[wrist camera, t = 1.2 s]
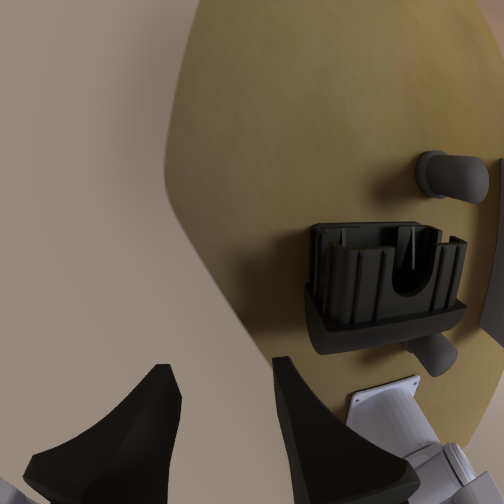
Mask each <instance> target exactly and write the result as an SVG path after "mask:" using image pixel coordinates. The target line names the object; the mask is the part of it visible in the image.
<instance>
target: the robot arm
mask: <svg viewBox="0 0 504 504" xmlns="http://www.w3.org/2000/svg"><path fill="white" fill-rule="evenodd" d="M272 364H273V376H274V391H275V398H276V408H277V415H278V418H279V423H280V427H281V431H282V435H283V439H284V443H285V447H286V451H287V455H288V460H289V465H290V472H291V480H292V488H293V495H294V503H295V504H504V498H503V496H502V494H501V492H500V490H499V489H498V487H497V485H496V483H495V481H494V480H493V478H492V476H491V474H490V473H489V471H485V472H484V473H483V474H481V475H480V476H478V477H477V475H476V473H475V471H474V469H473V468H472V466H471V464H470V462H469V461H468V459H467V457H466V456H465V454H464V453H463V451H462V450H461V448H460V447H459V446H458V444H457V443H450V442H448V443H447V444H445V445H444V446H443V445H442V444H441V443H440V441H439V439H438V438H437V436H436V434H435V432H434V431H433V429H432V427H431V426H430V424H429V422H428V421H427V419H426V417H425V416H424V414H423V412H422V411H421V409H420V408H419V406H418V404H417V403H416V401H415V399H414V398H413V396H414V393H415V391H416V388H417V386H418V383H419V380H420V377H419V375H415V376H412V377H409V378H406V379H403V380H400V381H396V382H393V383H390V384H386V385H383V386H379V387H375V388H372V389H368V390H364V391H360V392H356V393H354V394H353V395H352V399H351V404H350V408H349V413H348V417H347V421H346V424H344V423H343V422H342V421H341V420H340V419H339V418H337V417H336V416H335V415H334V414H333V413H332V412H331V411H330V410H329V409H328V408H327V407H326V406H325V405H324V404H323V403H322V402H321V401H320V400H319V399H318V397H317V396H316V395H315V394H314V393H313V391H312V390H311V389H310V388H309V386H308V385H307V384H306V383H305V381H304V380H303V378H302V377H301V375H300V374H299V372H298V371H297V369H296V368H295V366H294V364H293V362H292V360H291V358H290V357H288V356H284V357H276V358H272ZM181 404H182V396H181V393H180V391H179V388H178V385H177V383H176V380H175V377H174V374H173V371H172V369H171V366H170V364H156V365H155V366H154V367H153V368H152V369H151V371H150V372H149V373H148V374H147V375H146V376H145V377H144V379H142V381H141V382H140V383H139V384H138V385H137V386H136V387H135V388H134V389H133V390H132V392H131V393H130V394H129V395H128V396H127V397H126V398H125V399H124V400H123V401H122V402H121V403H120V404H119V405H118V406H117V407H115V408H114V410H113V411H111V412H110V413H109V414H108V415H107V416H105V417H104V418H103V419H102V420H100V421H99V422H98V423H96V424H95V425H94V426H92V427H91V428H90V429H88V430H86V431H85V432H83V433H82V434H80V435H78V436H77V437H75V438H73V439H71V440H69V441H67V442H66V443H63V444H61V445H59V446H57V447H55V448H52V449H49V450H47V451H44V452H41V453H38V454H35V455H33V456H32V458H31V460H30V462H29V464H28V466H27V468H26V470H25V473H24V475H23V479H24V481H25V482H26V483H27V484H28V485H29V486H31V488H33V489H34V490H35V491H36V492H38V493H39V494H40V495H42V496H43V497H44V498H46V499H47V500H48V501H50V502H51V503H50V504H167V500H168V498H167V497H168V479H169V467H170V461H171V456H172V451H173V447H174V443H175V438H176V434H177V430H178V425H179V421H180V414H181ZM0 504H39V503H37V502H35V501H33V500H32V499H30V498H28V497H26V496H25V495H24V494H23V493H22V492H21V491H19V490H18V489H17V488H15V487H14V486H12V485H11V484H9V483H8V482H6V481H5V480H3V479H2V478H0Z"/></svg>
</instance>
